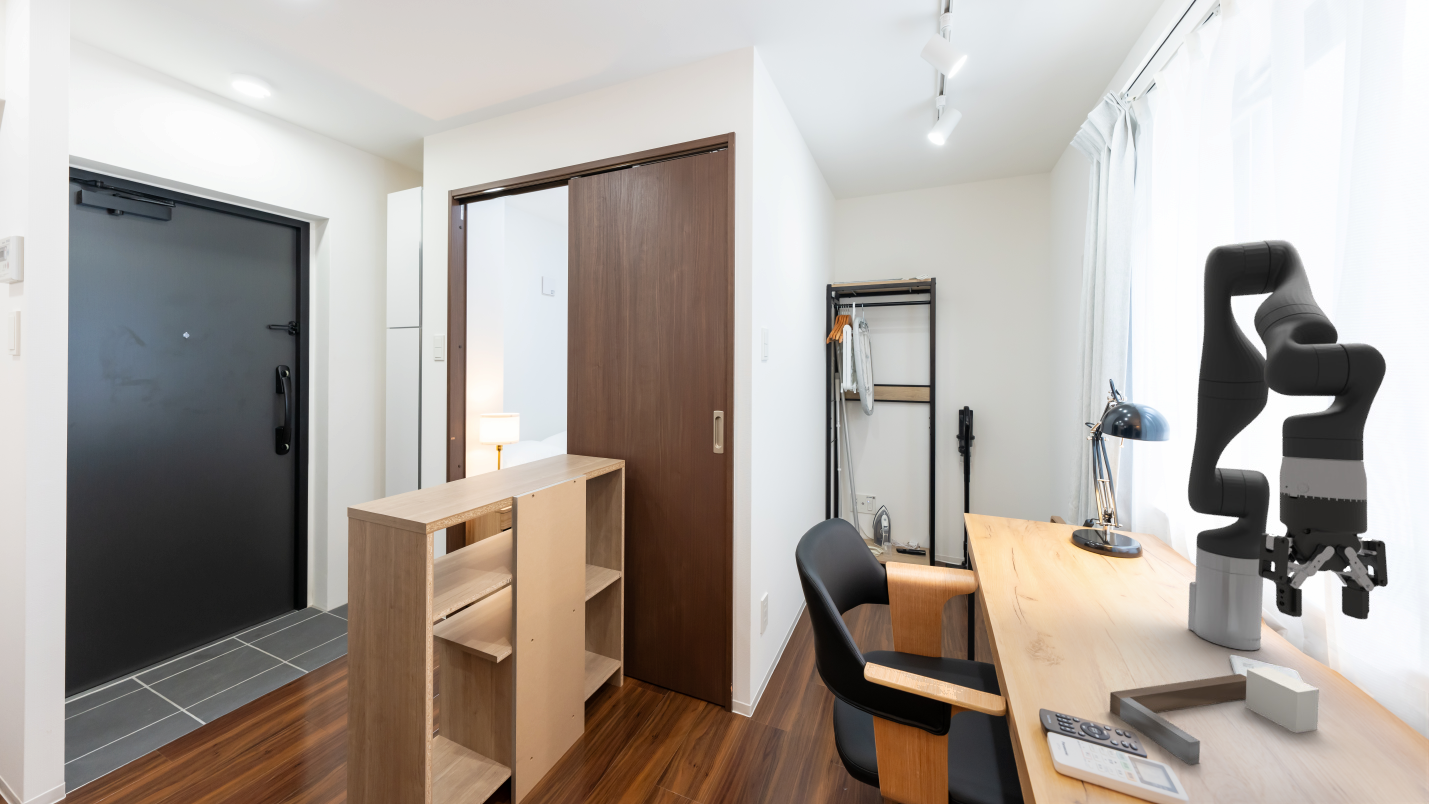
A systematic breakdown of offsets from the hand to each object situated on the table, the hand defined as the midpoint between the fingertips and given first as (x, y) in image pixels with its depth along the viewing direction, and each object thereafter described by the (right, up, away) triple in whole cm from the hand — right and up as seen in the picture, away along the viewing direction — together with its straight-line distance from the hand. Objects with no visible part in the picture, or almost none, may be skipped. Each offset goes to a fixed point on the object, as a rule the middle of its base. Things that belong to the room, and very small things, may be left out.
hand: (1322, 616), depth 68 cm
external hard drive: (+12, -19, +17) cm, 28 cm away
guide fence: (-7, -19, +7) cm, 21 cm away
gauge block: (+4, -19, +9) cm, 21 cm away
